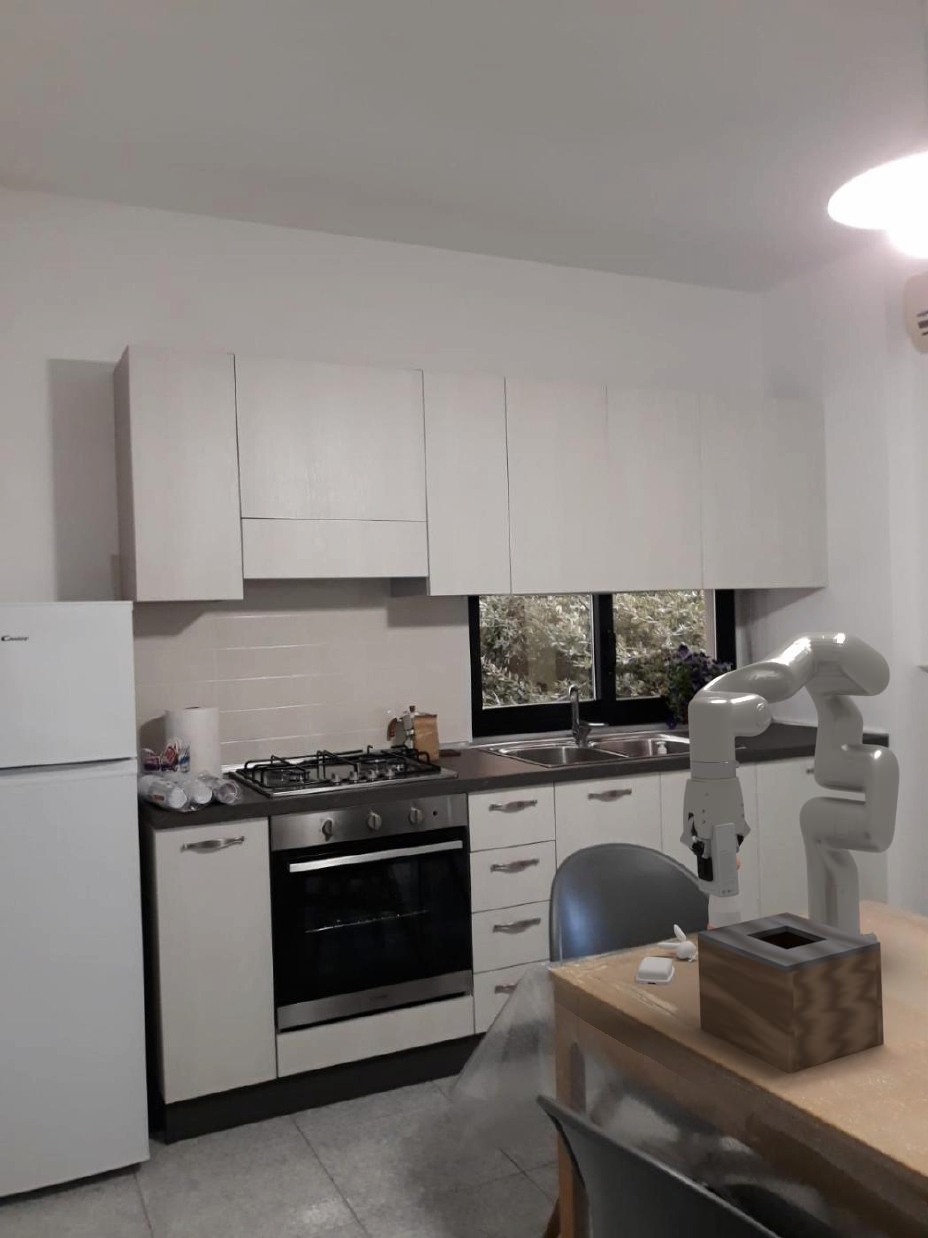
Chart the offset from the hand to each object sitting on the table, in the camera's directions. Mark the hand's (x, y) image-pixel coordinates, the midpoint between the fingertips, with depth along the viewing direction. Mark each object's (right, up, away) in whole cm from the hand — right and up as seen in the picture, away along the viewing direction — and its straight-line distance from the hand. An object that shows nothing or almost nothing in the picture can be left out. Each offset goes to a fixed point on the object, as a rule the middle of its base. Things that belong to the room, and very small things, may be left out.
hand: (717, 876), depth 178 cm
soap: (-7, -25, +22) cm, 34 cm away
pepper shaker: (+11, -24, +40) cm, 48 cm away
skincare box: (0, -3, 0) cm, 3 cm away
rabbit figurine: (0, -24, +32) cm, 40 cm away
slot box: (+10, -24, -8) cm, 27 cm away
